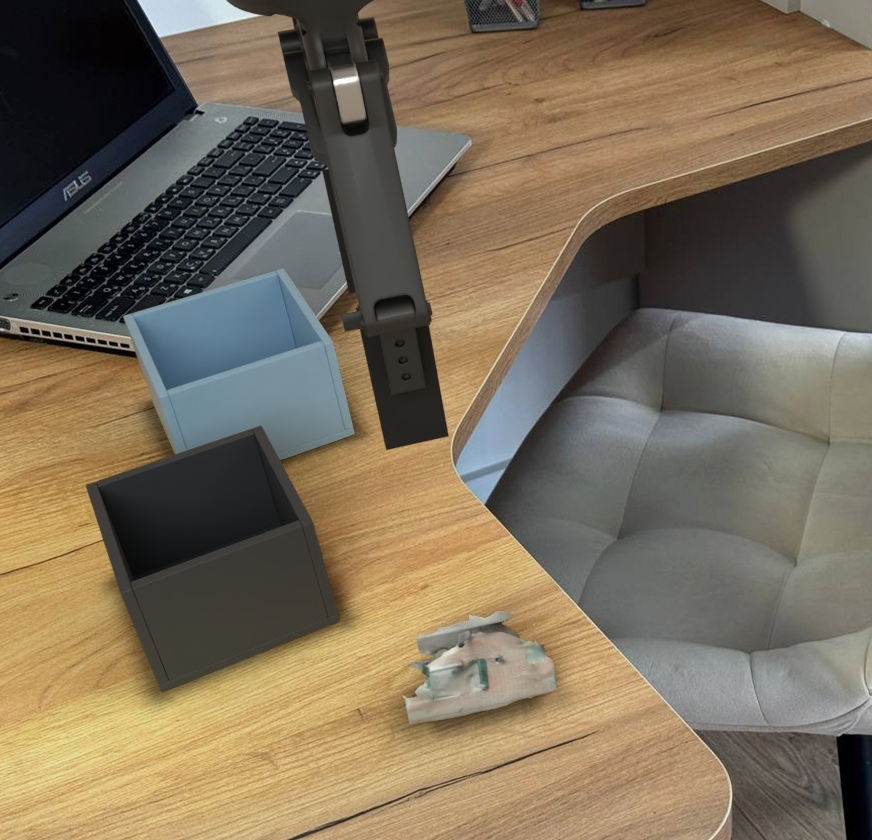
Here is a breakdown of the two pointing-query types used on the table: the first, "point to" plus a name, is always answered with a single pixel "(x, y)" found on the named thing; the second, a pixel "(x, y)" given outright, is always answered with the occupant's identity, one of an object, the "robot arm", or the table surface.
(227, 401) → the paper bin
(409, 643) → the table surface
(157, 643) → the waste bin
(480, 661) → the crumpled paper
